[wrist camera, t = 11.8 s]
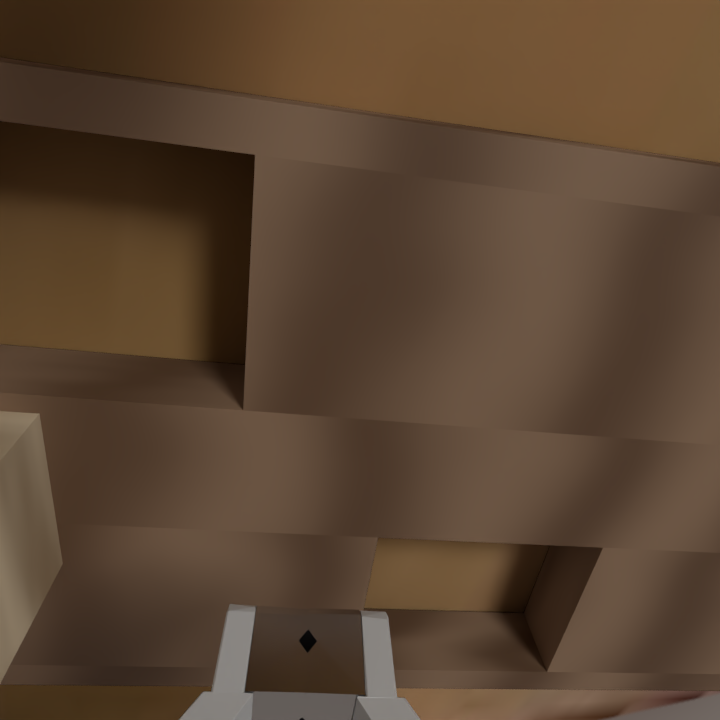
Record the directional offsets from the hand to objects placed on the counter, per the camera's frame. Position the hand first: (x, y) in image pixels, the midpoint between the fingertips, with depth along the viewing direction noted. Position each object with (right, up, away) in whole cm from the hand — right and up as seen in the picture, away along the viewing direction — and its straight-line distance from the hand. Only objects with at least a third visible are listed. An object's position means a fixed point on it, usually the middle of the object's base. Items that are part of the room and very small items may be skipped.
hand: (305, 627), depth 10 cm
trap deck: (+2, +3, +7) cm, 7 cm away
